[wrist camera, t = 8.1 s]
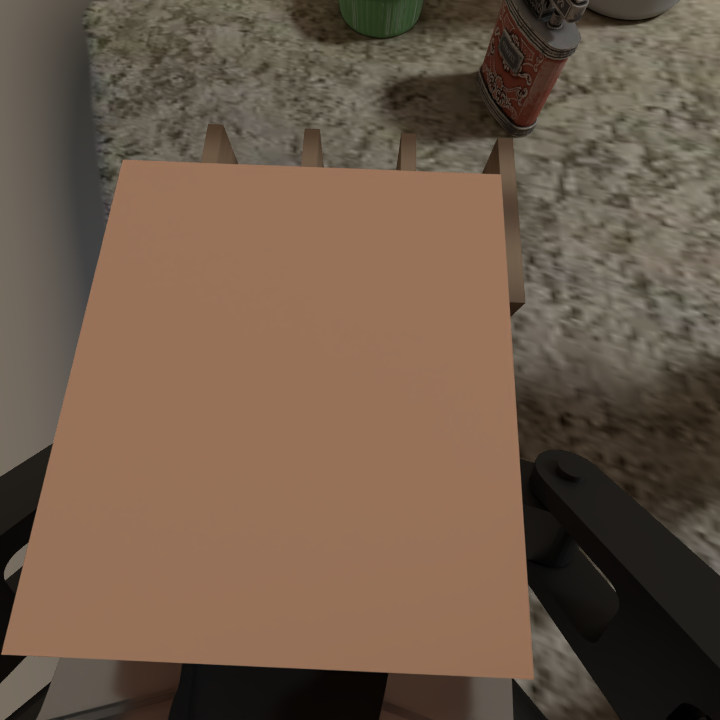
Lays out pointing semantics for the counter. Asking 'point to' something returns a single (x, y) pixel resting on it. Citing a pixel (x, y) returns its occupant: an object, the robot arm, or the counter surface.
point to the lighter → (527, 58)
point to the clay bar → (288, 431)
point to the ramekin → (381, 16)
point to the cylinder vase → (631, 8)
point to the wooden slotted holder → (498, 163)
